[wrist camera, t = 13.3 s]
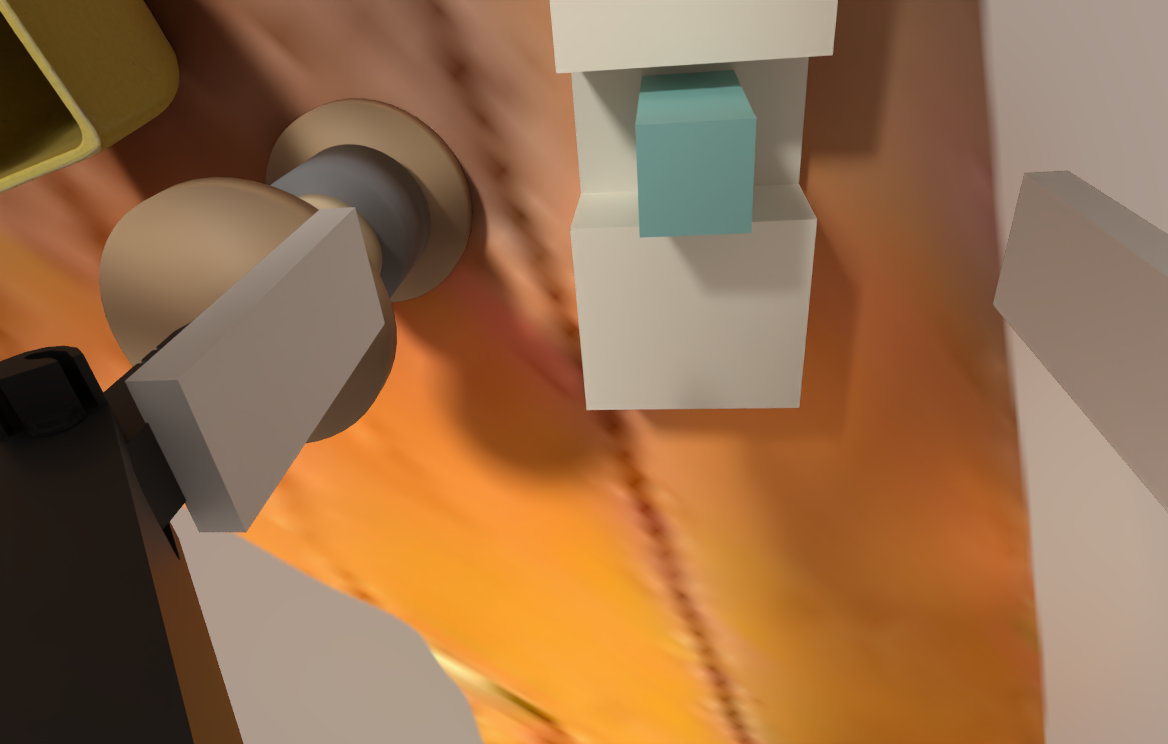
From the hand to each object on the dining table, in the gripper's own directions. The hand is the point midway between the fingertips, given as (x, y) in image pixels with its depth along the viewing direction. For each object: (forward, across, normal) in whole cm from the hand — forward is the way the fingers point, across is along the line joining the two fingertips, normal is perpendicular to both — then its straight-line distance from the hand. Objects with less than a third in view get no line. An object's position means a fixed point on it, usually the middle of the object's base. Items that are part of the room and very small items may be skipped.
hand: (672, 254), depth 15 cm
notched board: (+17, +1, -1) cm, 17 cm away
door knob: (+17, -13, -4) cm, 22 cm away
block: (+16, +1, -1) cm, 16 cm away
